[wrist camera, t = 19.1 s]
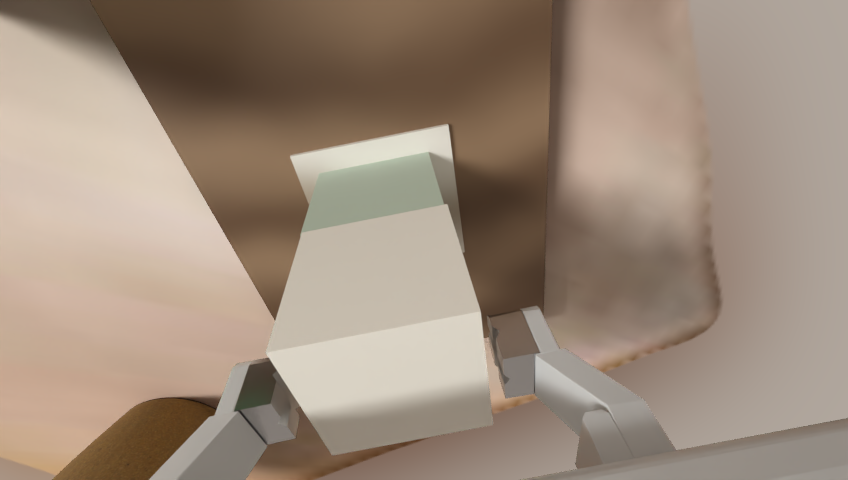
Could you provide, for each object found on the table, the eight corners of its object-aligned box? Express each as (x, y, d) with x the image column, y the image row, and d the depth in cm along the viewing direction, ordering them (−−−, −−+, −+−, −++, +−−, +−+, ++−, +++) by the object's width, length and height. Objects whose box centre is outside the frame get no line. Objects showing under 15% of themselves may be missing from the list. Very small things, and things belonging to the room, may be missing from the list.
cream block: (302, 232, 13) (265, 352, 9) (447, 204, 13) (480, 311, 8) (344, 330, 16) (332, 455, 11) (462, 307, 15) (493, 424, 11)
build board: (98, -33, 13) (65, -35, 12) (539, -124, 13) (558, -136, 12) (308, 353, 26) (304, 374, 25) (535, 310, 26) (544, 328, 24)
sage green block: (318, 173, 17) (299, 235, 13) (428, 151, 17) (444, 206, 13) (349, 259, 20) (342, 332, 16) (443, 241, 20) (460, 309, 16)
